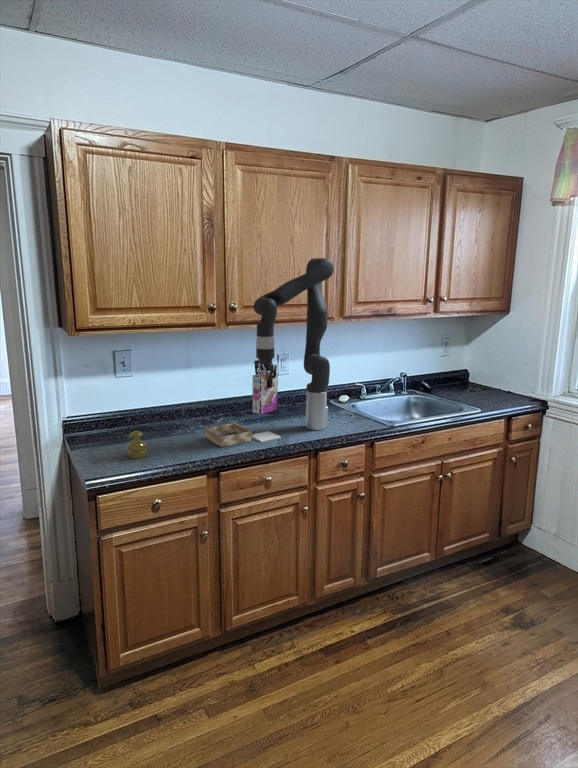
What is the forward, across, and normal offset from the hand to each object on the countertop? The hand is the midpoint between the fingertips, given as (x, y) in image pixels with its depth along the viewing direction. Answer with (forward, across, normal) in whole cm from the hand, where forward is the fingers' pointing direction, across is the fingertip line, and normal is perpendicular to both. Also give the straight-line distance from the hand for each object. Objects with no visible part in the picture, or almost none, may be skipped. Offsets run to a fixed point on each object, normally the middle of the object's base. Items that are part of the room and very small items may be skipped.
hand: (265, 386), depth 222 cm
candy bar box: (+11, 0, 0) cm, 11 cm away
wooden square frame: (+23, +7, +14) cm, 27 cm away
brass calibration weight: (+23, +9, +53) cm, 59 cm away
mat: (+23, 0, 0) cm, 23 cm away
